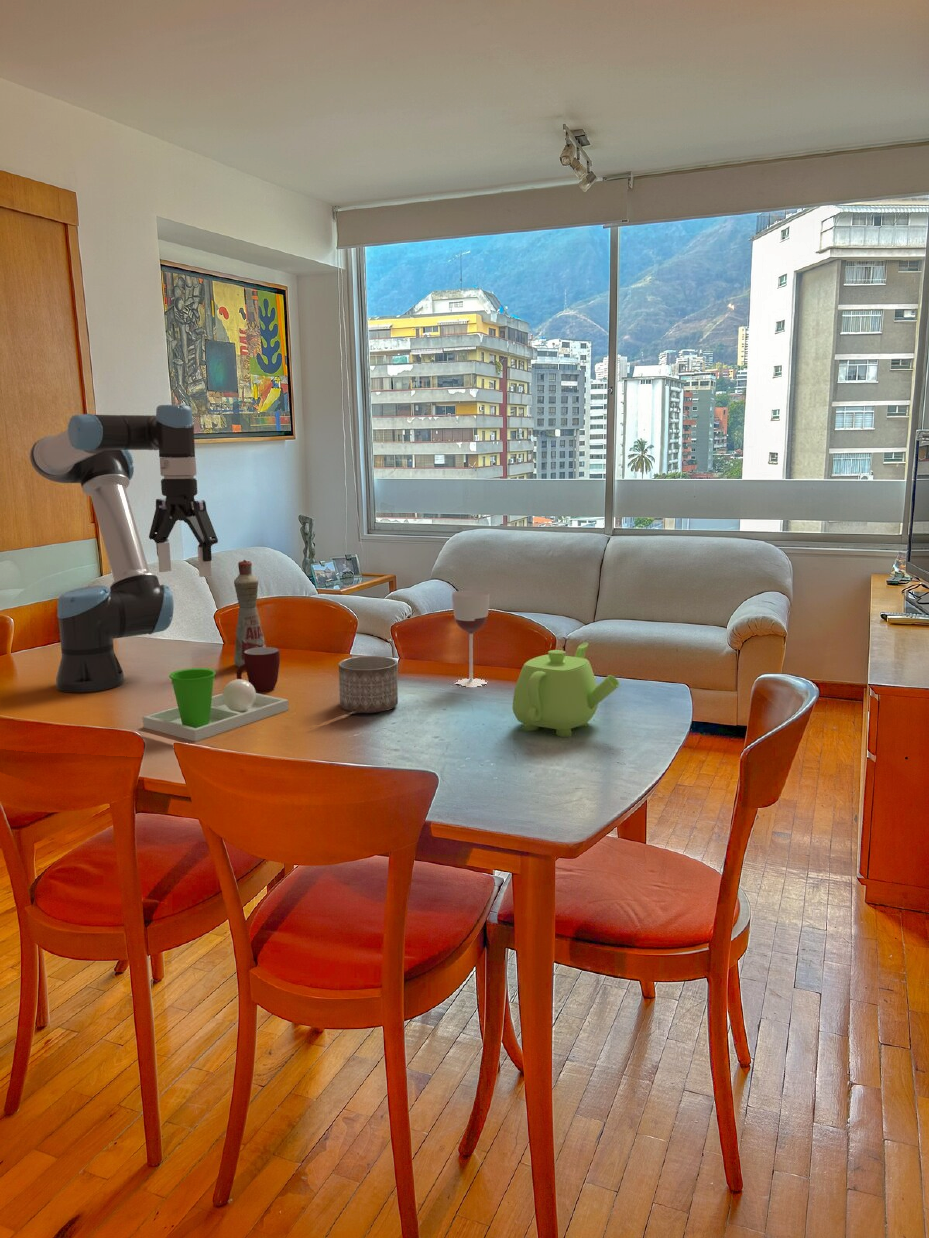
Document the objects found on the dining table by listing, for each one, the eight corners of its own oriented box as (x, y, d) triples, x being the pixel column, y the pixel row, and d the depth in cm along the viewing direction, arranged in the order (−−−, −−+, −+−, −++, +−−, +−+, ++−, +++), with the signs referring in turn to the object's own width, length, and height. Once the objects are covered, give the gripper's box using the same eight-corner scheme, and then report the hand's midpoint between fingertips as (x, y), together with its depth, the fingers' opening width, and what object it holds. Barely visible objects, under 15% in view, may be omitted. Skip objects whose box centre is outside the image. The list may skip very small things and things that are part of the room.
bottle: (252, 659, 242) (247, 556, 237) (275, 664, 237) (271, 559, 232) (227, 666, 235) (221, 560, 230) (250, 671, 230) (244, 562, 225)
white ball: (216, 712, 192) (214, 680, 191) (241, 704, 198) (239, 673, 196) (238, 717, 188) (237, 685, 187) (263, 709, 194) (262, 678, 193)
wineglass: (446, 685, 215) (446, 595, 211) (461, 676, 224) (461, 589, 220) (480, 689, 212) (480, 597, 208) (494, 679, 221) (495, 591, 217)
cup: (228, 722, 185) (225, 670, 183) (198, 735, 177) (194, 681, 175) (194, 716, 189) (190, 666, 187) (163, 729, 181) (159, 676, 179)
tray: (143, 730, 182) (142, 716, 182) (237, 701, 203) (237, 688, 202) (196, 745, 174) (195, 730, 173) (288, 713, 194) (288, 699, 193)
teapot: (594, 753, 169) (596, 671, 165) (495, 734, 180) (495, 657, 177) (643, 718, 189) (646, 645, 186) (551, 703, 201) (552, 634, 197)
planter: (373, 697, 206) (372, 653, 204) (409, 708, 198) (408, 662, 196) (328, 708, 198) (326, 662, 196) (364, 720, 189) (363, 672, 187)
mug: (251, 701, 203) (249, 658, 201) (230, 695, 208) (227, 653, 206) (288, 691, 211) (286, 650, 209) (266, 685, 216) (264, 645, 214)
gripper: (128, 477, 200) (135, 571, 204) (203, 479, 186) (209, 580, 191) (156, 476, 206) (162, 567, 210) (231, 478, 193) (236, 576, 197)
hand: (184, 573), depth 200 cm, fingers open, 13 cm apart
